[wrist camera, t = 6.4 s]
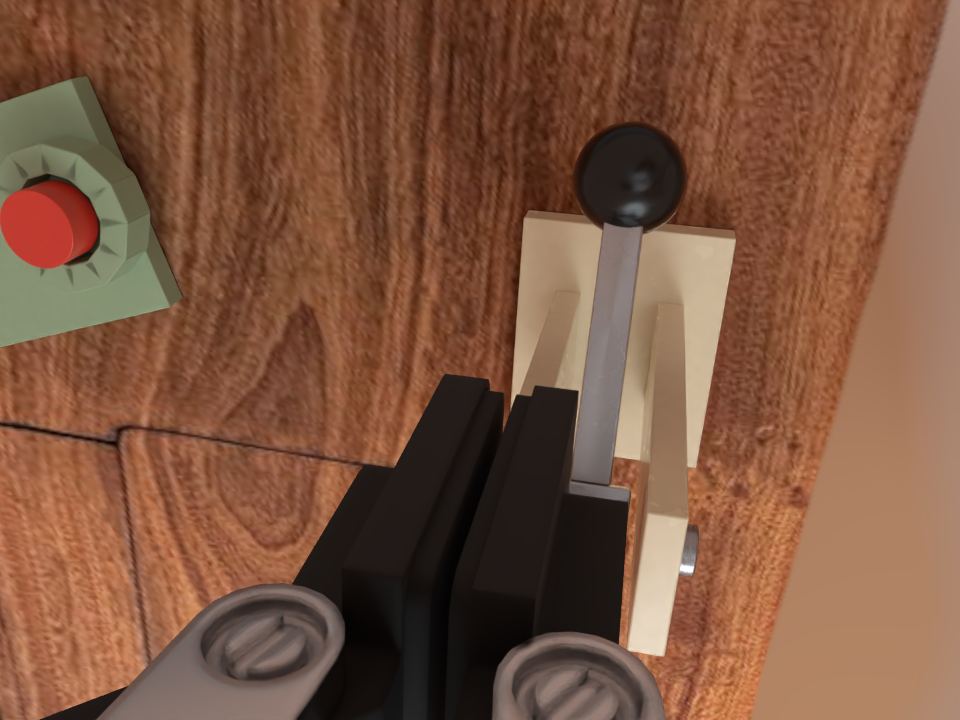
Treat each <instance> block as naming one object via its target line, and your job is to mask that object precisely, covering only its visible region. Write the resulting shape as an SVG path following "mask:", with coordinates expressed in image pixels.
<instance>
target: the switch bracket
mask: <svg viewBox="0 0 960 720" xmlns="http://www.w3.org/2000/svg"><path fill="white" fill-rule="evenodd" d="M602 232H603V230H601V229H599V228H598V227H596V226H595V225H594V224H593V223H591V222H590V221H589V220H588V219H587V218H586V217H585V215H575V214H565V213H555V212H545V211H535V210H528V212H527V214H526V215H525V217H524V221H523V235H522V250H521V264H520V278H519V292H518V306H517V321H516V335H515V349H514V363H513V377H512V392H511V406H510V411H511V408H512V405H513V402H514V400H515V397H516V395H517V394H518V395H526V396H532V392H533V389H534V387H535V385H538V386H546V387H554V388H562V389H570V390H578V391H579V397H578V408H577V418H576V427H575V435H576V428H577V420H578V413H579V405H580V398H581V390H582V383H583V375H584V367H585V360H586V352H587V345H588V337H589V330H590V322H591V315H592V307H593V300H594V292H595V285H596V277H597V269H598V262H599V254H600V247H601V239H602ZM735 244H736V238H735V233H734V231H733V230H724V229H714V228H704V227H694V226H684V225H674V224H664V225H663V226H661V227H660V228H658V229H656V230H654V231H652V232H650V233H647V234H644V235H642V243H641V251H640V258H639V266H638V274H637V282H636V289H635V297H634V305H633V313H632V321H631V328H630V336H629V344H628V352H627V359H626V367H625V375H624V383H623V391H622V398H621V406H620V414H619V422H618V429H617V437H616V445H615V453H614V457H621V458H628V459H635V460H640V466H639V480H638V493H637V507H636V521H635V535H634V548H633V562H632V576H631V589H630V603H629V617H628V631H627V644H626V648H627V650H628V651H633V652H639V653H645V654H650V655H656V656H661V657H662V656H664V655H665V650H666V644H667V638H668V633H669V627H670V621H671V616H672V610H673V605H674V599H675V593H676V588H677V582H678V576H683V577H689V578H690V577H692V576H693V574H694V571H695V566H696V560H697V553H698V541H699V529H698V526H697V525H693V524H688V520H689V514H688V467H691V468H695V467H696V465H697V459H698V453H699V448H700V442H701V436H702V431H703V425H704V419H705V414H706V408H707V402H708V397H709V391H710V385H711V380H712V374H713V368H714V363H715V357H716V351H717V346H718V340H719V334H720V329H721V323H722V317H723V312H724V306H725V300H726V295H727V289H728V283H729V278H730V272H731V266H732V261H733V255H734V249H735ZM574 443H575V437H574ZM573 450H574V446H573Z"/></svg>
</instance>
